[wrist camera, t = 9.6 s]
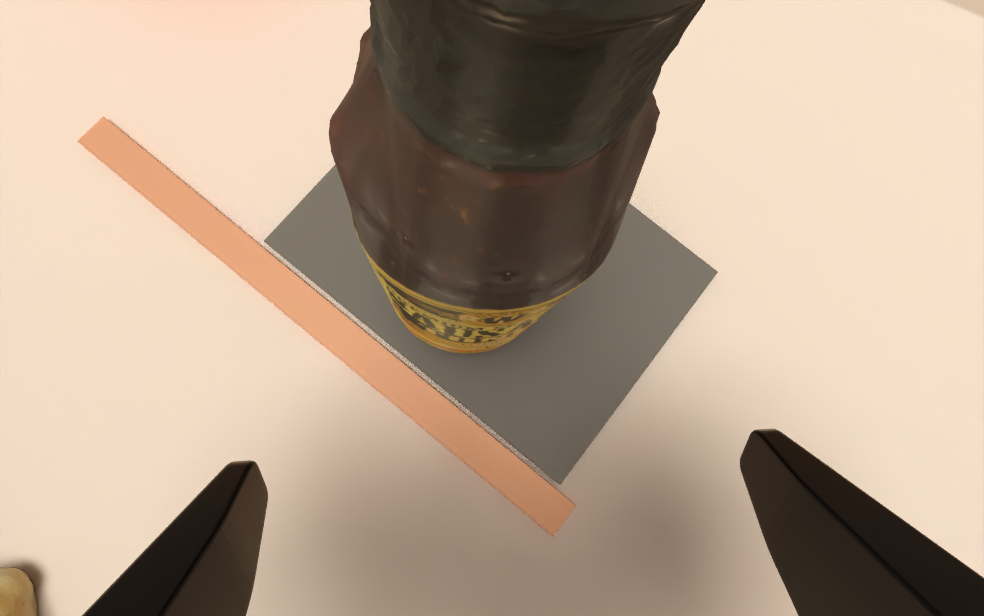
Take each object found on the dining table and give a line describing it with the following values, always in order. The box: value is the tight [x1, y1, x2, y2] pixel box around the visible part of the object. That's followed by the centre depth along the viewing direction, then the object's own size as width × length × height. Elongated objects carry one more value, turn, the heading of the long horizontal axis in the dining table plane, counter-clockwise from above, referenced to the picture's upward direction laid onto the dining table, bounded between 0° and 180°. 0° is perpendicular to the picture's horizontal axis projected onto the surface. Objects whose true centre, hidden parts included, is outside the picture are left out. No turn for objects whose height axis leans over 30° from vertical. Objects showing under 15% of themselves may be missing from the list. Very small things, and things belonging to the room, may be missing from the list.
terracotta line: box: [78, 117, 576, 536], centre depth 22 cm, size 26×2×1 cm, turn 51°
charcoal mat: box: [264, 165, 717, 484], centre depth 23 cm, size 16×12×1 cm
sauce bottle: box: [329, 0, 705, 353], centre depth 13 cm, size 7×6×20 cm
